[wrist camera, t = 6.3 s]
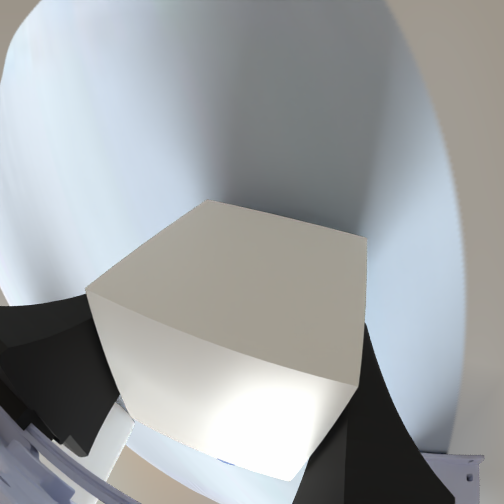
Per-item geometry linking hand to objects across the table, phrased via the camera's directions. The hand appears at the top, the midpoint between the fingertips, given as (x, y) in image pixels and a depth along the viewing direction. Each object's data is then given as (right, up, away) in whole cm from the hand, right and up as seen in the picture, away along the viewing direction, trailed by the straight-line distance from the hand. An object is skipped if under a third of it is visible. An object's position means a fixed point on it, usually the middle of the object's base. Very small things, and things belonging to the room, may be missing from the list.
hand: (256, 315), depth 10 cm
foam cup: (-17, -16, +19) cm, 30 cm away
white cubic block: (+1, +1, +2) cm, 2 cm away
